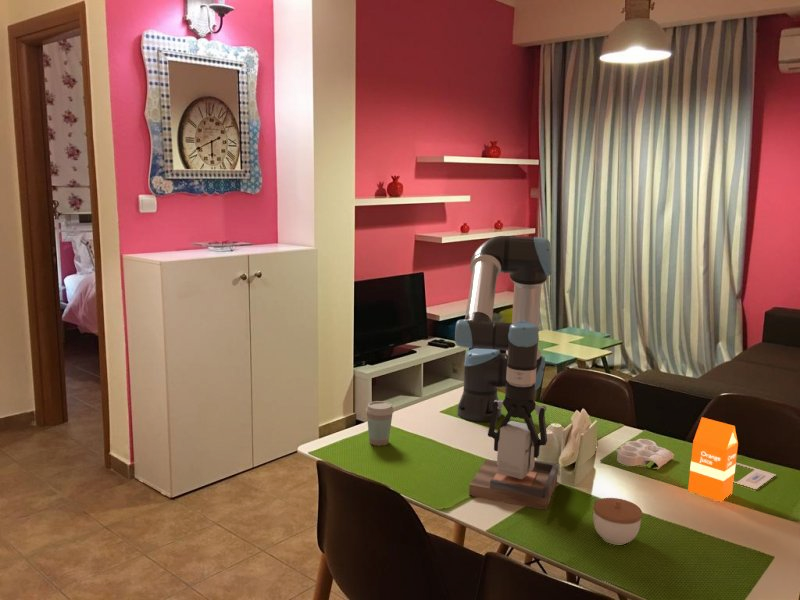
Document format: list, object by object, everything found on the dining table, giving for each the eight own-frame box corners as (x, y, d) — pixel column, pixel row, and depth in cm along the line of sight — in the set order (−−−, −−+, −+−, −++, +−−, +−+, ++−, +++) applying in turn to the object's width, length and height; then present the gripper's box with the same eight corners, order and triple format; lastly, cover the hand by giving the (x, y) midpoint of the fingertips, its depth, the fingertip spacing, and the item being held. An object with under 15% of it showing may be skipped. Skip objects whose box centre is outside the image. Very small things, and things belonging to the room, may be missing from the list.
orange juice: (699, 483, 196) (707, 413, 192) (732, 494, 189) (741, 422, 186) (687, 491, 190) (695, 420, 187) (720, 502, 184) (729, 429, 180)
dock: (485, 469, 201) (486, 452, 200) (557, 481, 194) (558, 464, 193) (468, 495, 184) (469, 477, 183) (546, 510, 177) (547, 491, 176)
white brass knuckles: (653, 476, 200) (605, 461, 210) (677, 458, 214) (630, 445, 223) (654, 464, 200) (606, 450, 209) (678, 447, 213) (631, 434, 223)
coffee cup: (394, 438, 222) (395, 401, 220) (391, 448, 214) (392, 410, 211) (367, 436, 223) (367, 399, 220) (363, 446, 214) (363, 408, 212)
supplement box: (522, 480, 183) (525, 433, 181) (496, 473, 187) (499, 427, 185) (533, 470, 189) (536, 425, 187) (507, 463, 193) (510, 419, 191)
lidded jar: (614, 555, 157) (617, 516, 155) (581, 533, 166) (584, 496, 165) (649, 545, 162) (653, 506, 160) (615, 524, 171) (618, 487, 170)
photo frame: (756, 488, 192) (691, 467, 204) (755, 492, 192) (690, 471, 205) (776, 473, 202) (712, 454, 214) (775, 477, 202) (712, 458, 215)
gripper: (477, 381, 184) (473, 464, 188) (559, 392, 177) (553, 477, 181) (484, 374, 191) (480, 453, 195) (563, 384, 184) (557, 466, 188)
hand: (515, 465), depth 188 cm, fingers closed on supplement box, 8 cm apart
